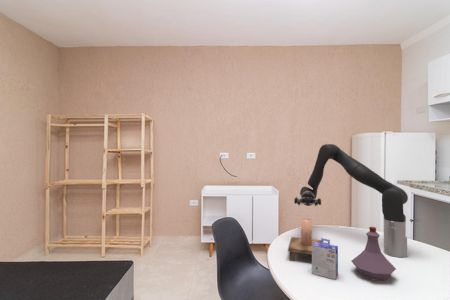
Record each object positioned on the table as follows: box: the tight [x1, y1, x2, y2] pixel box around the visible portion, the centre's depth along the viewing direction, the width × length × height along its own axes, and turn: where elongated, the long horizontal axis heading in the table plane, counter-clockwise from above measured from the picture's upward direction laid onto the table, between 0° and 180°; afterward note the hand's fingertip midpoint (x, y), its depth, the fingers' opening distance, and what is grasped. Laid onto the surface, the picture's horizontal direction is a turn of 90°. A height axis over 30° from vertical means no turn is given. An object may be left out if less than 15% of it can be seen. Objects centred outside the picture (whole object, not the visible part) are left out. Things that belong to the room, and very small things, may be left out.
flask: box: [350, 226, 397, 281], centre depth 106 cm, size 16×16×20 cm
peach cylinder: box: [300, 218, 313, 246], centre depth 124 cm, size 5×5×12 cm
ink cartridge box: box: [311, 237, 339, 280], centre depth 106 cm, size 10×6×14 cm, turn 58°
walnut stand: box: [287, 236, 324, 262], centre depth 124 cm, size 16×16×6 cm
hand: (307, 203), depth 135 cm, fingers open, 8 cm apart
